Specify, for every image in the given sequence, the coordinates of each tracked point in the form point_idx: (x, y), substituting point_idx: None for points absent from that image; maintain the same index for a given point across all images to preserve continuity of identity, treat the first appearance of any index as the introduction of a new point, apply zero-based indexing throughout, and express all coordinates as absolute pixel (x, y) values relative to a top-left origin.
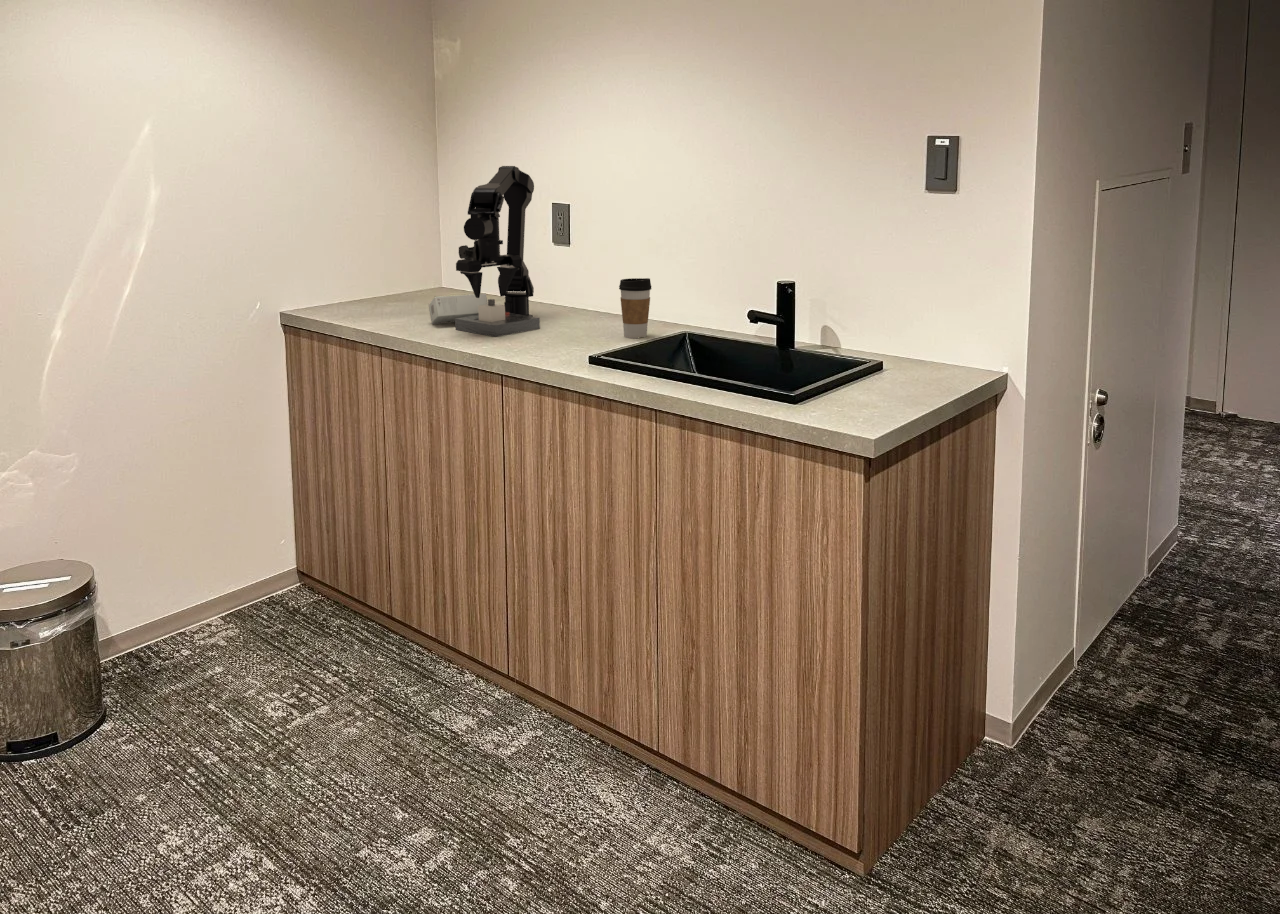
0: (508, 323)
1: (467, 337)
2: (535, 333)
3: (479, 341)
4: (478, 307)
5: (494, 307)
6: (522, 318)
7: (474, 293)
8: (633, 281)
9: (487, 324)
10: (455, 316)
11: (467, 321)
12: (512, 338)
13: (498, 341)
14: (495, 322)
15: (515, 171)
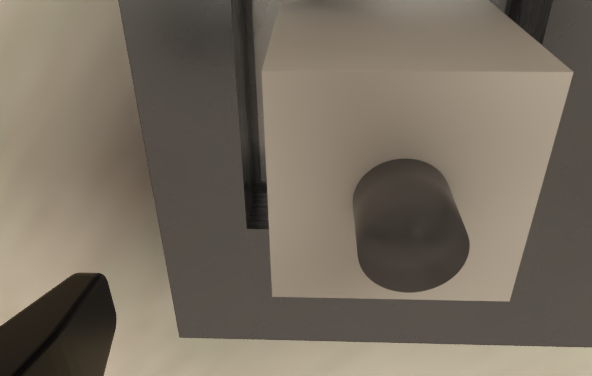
0: (322, 337)
1: (25, 158)
2: (455, 357)
3: (31, 302)
4: (265, 64)
5: (333, 292)
6: (570, 288)
7: (20, 321)
8: None
9: (168, 265)
10: None
11: None
12: (243, 363)
13: (125, 365)
14: (267, 263)
15: None
